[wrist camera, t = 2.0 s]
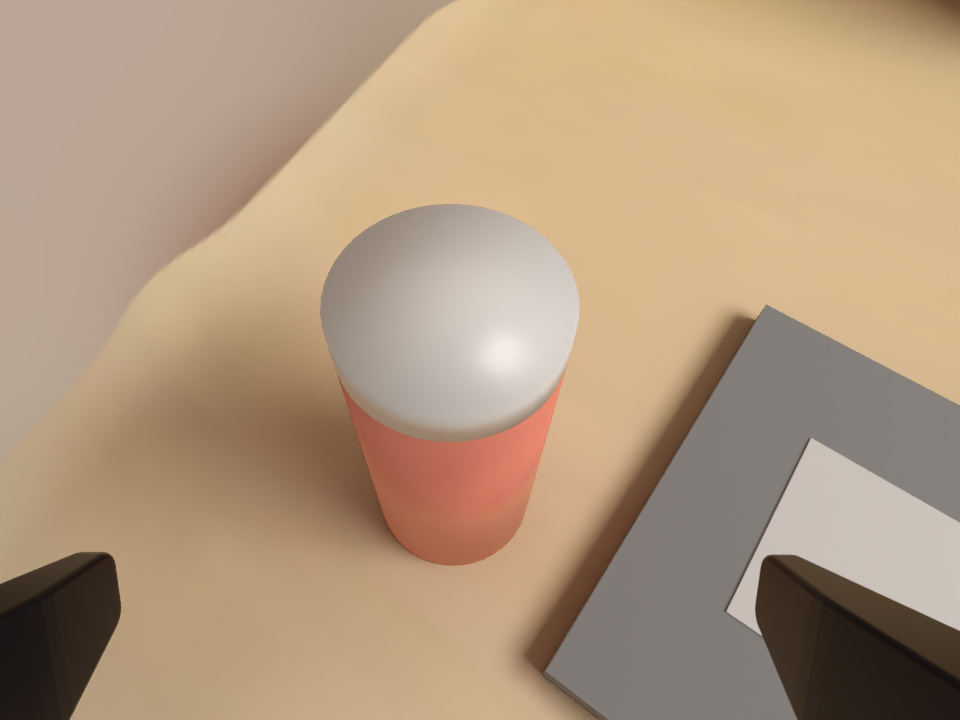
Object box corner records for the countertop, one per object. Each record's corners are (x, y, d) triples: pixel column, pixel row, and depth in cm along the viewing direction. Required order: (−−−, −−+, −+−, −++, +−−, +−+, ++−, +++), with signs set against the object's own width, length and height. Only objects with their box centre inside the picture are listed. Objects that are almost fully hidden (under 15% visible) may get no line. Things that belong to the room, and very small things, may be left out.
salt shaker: (470, 597, 20) (480, 468, 11) (350, 505, 21) (264, 319, 12) (555, 475, 22) (626, 278, 13) (441, 399, 24) (429, 170, 14)
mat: (1040, 1062, 15) (1079, 1084, 14) (541, 674, 19) (545, 671, 18) (1136, 521, 22) (1166, 511, 21) (756, 319, 26) (767, 303, 25)
